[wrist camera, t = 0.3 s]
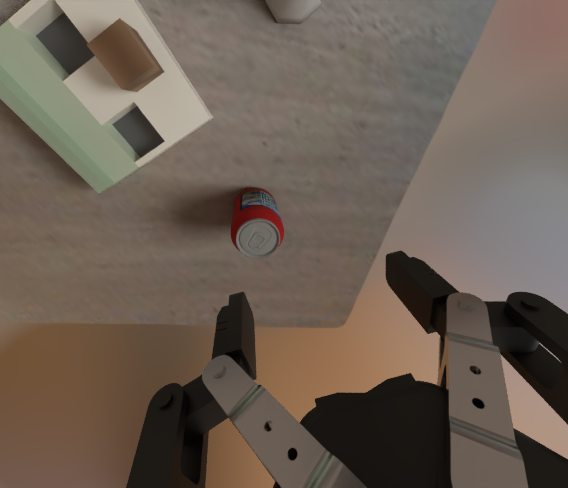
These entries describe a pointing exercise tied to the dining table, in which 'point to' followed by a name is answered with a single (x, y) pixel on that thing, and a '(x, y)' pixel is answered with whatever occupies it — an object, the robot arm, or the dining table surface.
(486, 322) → the robot arm
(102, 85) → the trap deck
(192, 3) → the dining table surface
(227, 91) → the dining table surface
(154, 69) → the walnut block
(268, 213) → the beverage can
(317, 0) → the flask
